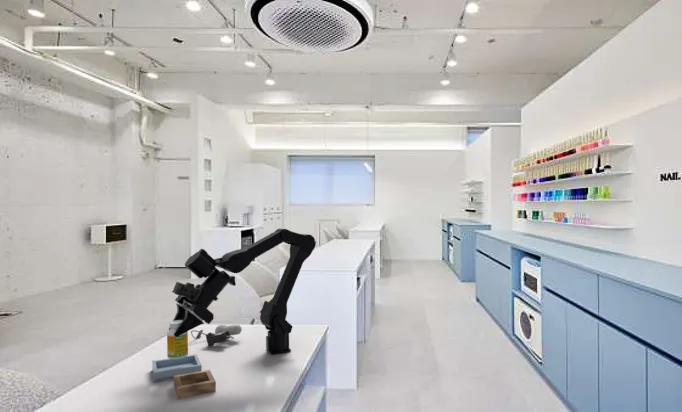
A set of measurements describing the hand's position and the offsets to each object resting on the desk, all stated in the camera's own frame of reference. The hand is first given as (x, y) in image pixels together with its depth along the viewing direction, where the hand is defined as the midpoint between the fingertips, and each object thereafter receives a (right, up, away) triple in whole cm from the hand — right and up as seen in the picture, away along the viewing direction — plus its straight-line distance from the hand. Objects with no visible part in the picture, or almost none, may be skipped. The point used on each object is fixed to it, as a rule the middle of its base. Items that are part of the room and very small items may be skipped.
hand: (172, 333), depth 117 cm
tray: (+1, -11, +2) cm, 11 cm away
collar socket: (+10, -11, -10) cm, 17 cm away
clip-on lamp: (+3, -12, +30) cm, 32 cm away
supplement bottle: (+1, -7, +1) cm, 7 cm away
